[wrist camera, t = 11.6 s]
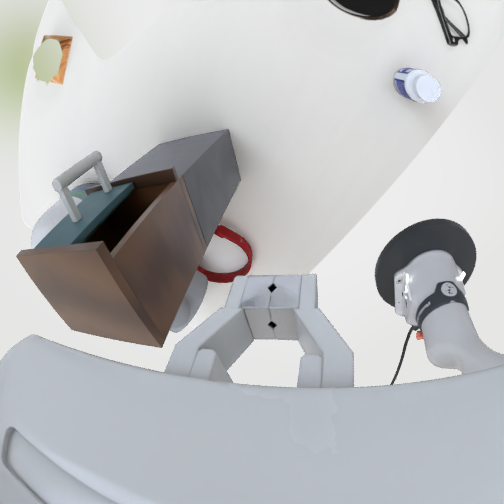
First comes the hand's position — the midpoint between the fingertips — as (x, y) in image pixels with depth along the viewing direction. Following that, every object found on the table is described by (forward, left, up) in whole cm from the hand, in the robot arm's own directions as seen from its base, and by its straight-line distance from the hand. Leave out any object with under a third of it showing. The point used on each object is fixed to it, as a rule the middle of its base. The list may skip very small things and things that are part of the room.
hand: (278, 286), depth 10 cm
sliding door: (+1, +22, -17) cm, 28 cm away
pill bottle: (+4, -18, -39) cm, 43 cm away
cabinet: (-7, +20, -39) cm, 44 cm away
